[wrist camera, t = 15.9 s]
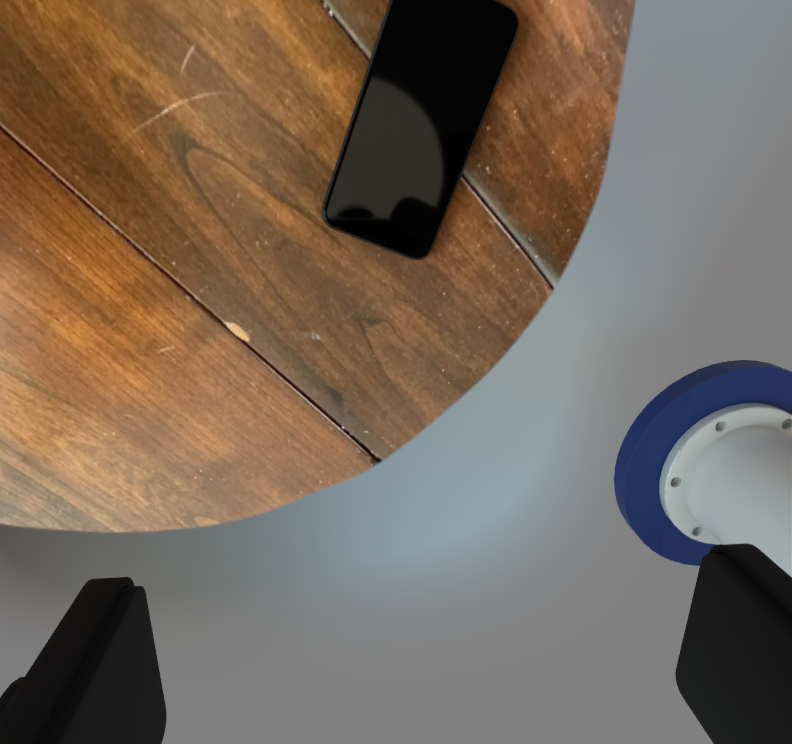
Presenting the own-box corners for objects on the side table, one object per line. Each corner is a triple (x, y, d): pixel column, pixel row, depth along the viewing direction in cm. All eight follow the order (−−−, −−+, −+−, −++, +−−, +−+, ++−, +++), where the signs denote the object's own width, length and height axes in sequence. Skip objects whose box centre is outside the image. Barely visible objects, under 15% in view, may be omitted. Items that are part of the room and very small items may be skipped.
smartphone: (425, 263, 35) (522, 17, 31) (427, 265, 34) (527, 13, 30) (316, 222, 34) (403, -43, 30) (316, 223, 33) (405, -49, 29)
